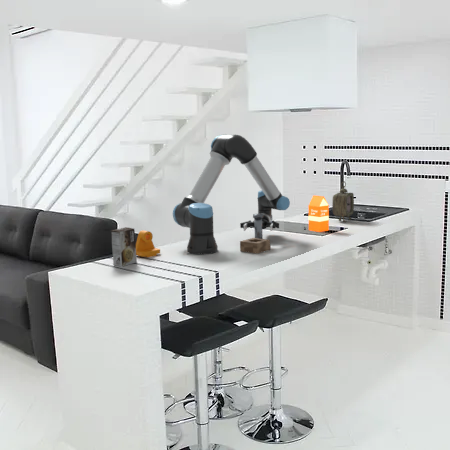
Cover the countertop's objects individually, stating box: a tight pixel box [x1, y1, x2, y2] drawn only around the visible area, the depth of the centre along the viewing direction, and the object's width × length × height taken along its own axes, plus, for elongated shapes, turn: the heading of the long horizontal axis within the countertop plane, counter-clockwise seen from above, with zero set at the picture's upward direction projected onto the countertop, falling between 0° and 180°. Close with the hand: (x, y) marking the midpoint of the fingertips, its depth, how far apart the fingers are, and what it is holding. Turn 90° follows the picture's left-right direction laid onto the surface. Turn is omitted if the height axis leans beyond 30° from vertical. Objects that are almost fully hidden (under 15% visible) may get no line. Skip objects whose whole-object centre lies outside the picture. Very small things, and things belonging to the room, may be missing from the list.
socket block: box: [239, 237, 271, 255], centre depth 286 cm, size 10×10×5 cm
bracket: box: [135, 229, 161, 258], centre depth 283 cm, size 11×7×12 cm, turn 132°
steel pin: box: [252, 213, 264, 239], centre depth 298 cm, size 5×5×16 cm
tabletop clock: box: [331, 180, 355, 223], centre depth 364 cm, size 14×9×25 cm, turn 148°
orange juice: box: [307, 194, 330, 233], centre depth 335 cm, size 8×9×20 cm
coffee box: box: [110, 227, 138, 267], centre depth 266 cm, size 9×6×16 cm
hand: (257, 228), depth 295 cm, fingers open, 13 cm apart
